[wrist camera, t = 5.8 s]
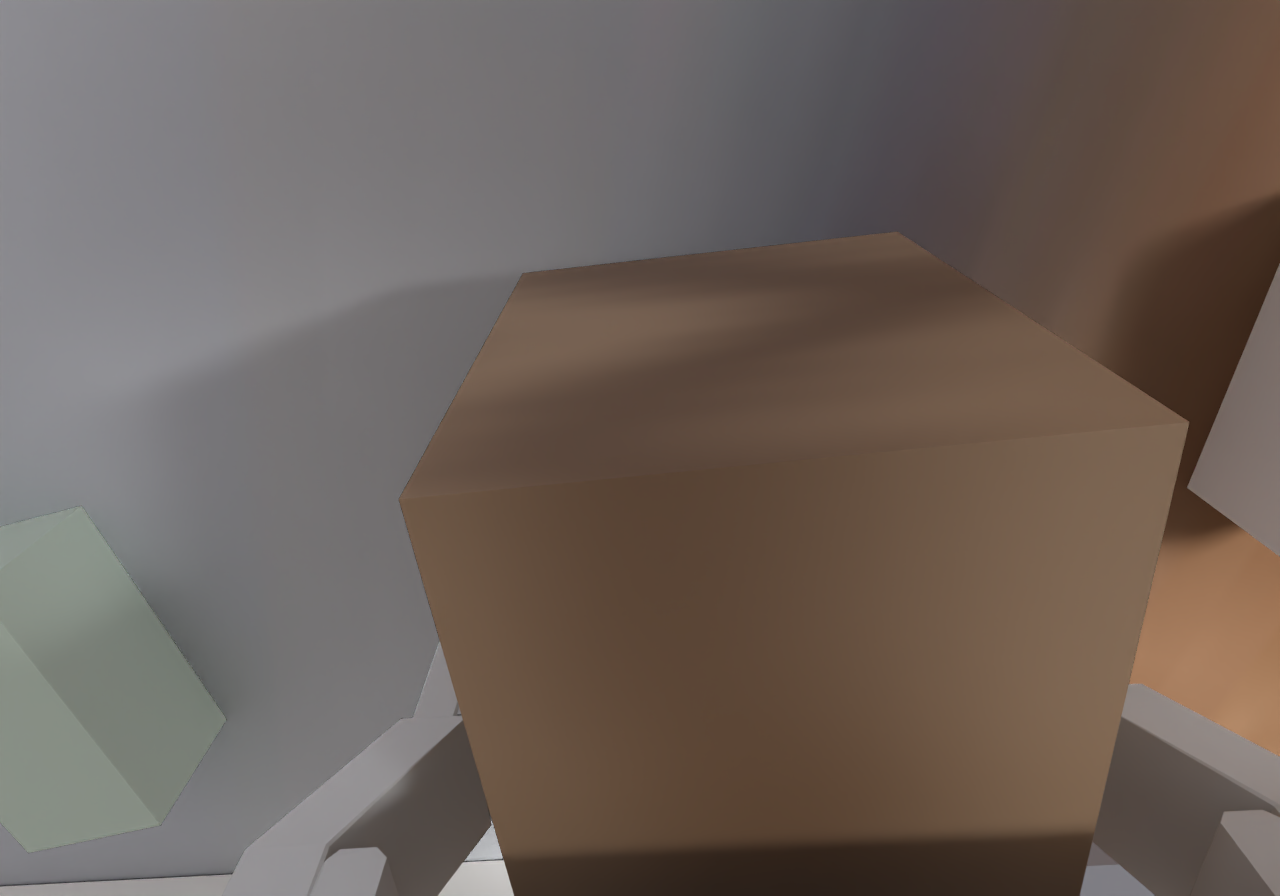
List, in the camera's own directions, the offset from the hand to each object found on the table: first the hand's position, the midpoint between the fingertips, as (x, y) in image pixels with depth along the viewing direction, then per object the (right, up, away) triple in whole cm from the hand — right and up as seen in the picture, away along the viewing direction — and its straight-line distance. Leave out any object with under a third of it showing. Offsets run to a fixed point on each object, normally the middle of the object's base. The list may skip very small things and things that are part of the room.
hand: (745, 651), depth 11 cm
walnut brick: (0, +1, +2) cm, 2 cm away
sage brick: (-13, -1, +6) cm, 15 cm away
